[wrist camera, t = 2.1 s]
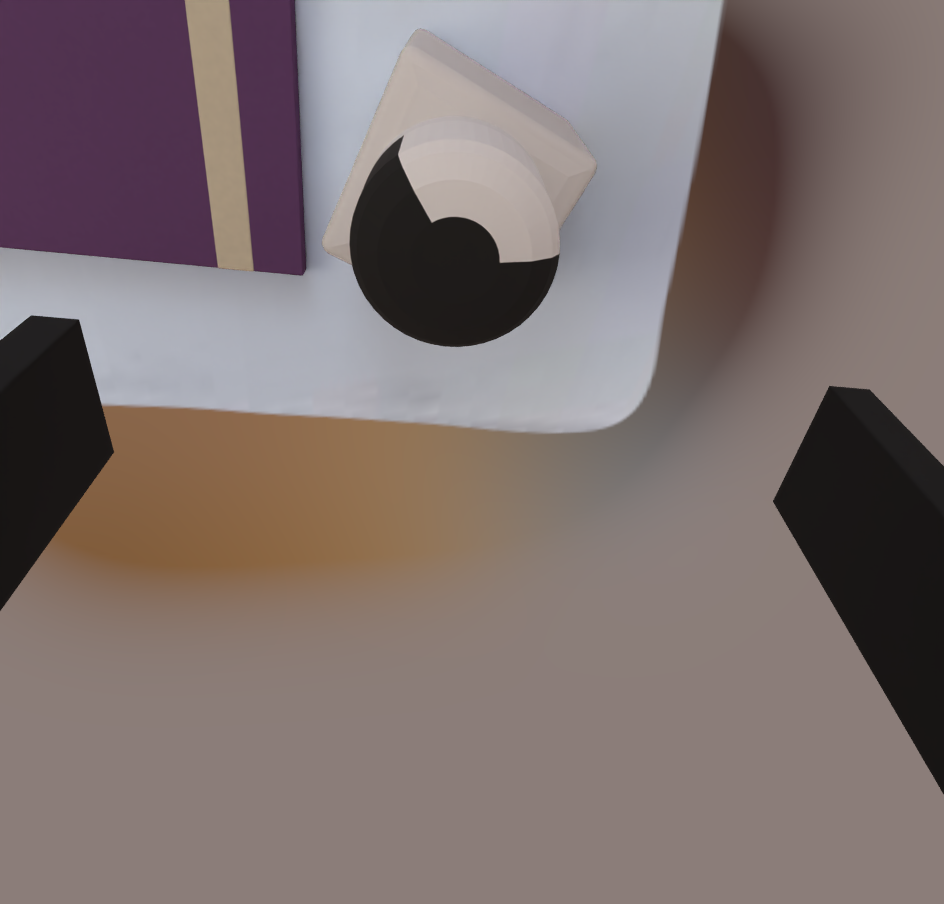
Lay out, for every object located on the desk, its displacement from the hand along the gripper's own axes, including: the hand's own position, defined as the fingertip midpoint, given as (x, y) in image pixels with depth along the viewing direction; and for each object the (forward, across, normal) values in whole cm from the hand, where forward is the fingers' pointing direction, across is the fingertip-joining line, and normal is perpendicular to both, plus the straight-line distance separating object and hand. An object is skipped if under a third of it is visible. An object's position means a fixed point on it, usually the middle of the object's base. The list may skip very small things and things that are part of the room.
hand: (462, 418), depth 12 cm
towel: (+20, -20, 0) cm, 28 cm away
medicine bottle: (+20, 0, 0) cm, 20 cm away
